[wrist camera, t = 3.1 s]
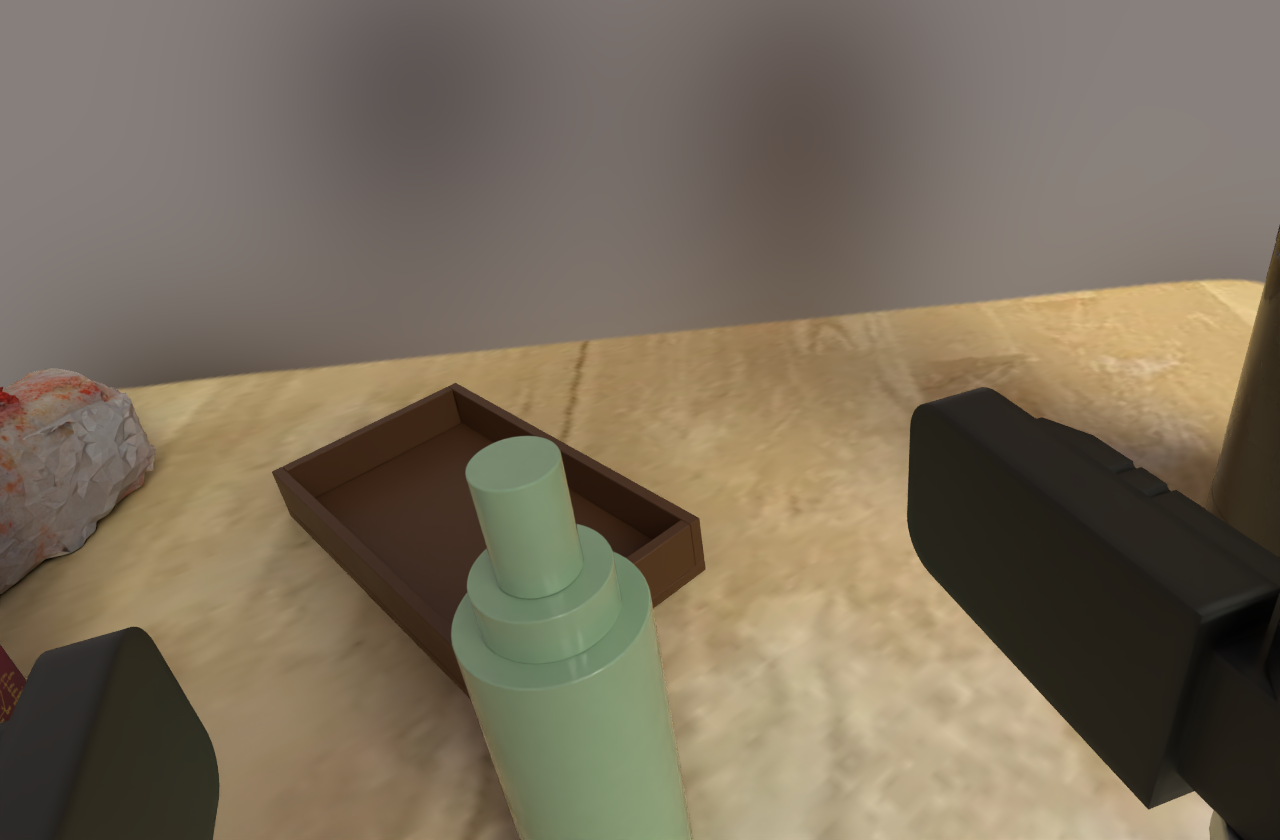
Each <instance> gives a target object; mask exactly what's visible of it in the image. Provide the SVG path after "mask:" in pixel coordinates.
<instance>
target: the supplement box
mask: <svg viewBox="0 0 1280 840" xmlns="http://www.w3.org/2000/svg"><path fill="white" fill-rule="evenodd" d="M26 682H27V681H26V680H25V679H24V677H23V675H22V674H21V673H20V671H19V670H18V669H17V667H16V666H15V664H14V663H13V662H12V660H11V659H10V658H9V656H8V655H7V653H6V652H5V651H4V649H3V648H2V646H1V645H0V723H2V722H6V721H9V720H10V718H11V716H12V713H13V711H14V709H15V707H16V704H17V702H18V700H19V697H20V695H21V693H22V691H23V688H24V686H25V684H26Z"/></svg>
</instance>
